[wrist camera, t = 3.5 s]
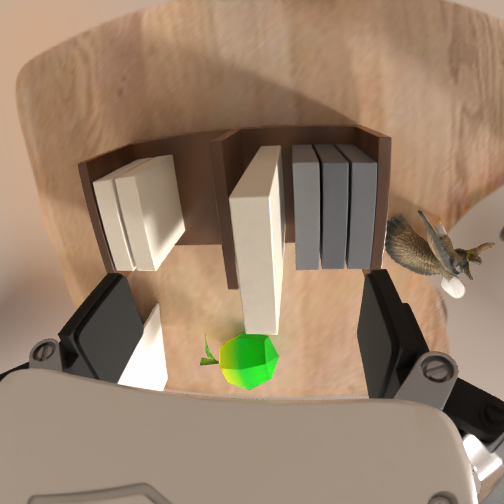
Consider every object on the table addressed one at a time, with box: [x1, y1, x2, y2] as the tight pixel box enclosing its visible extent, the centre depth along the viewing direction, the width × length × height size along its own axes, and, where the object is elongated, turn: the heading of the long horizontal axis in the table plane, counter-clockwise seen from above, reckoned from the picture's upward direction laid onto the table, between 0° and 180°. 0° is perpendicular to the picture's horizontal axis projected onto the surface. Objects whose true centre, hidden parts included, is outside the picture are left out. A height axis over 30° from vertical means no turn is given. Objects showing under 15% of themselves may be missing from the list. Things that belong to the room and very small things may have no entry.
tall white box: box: [118, 303, 168, 391], centre depth 24 cm, size 14×6×30 cm, turn 174°
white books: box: [93, 155, 185, 271], centre depth 23 cm, size 4×7×7 cm, turn 5°
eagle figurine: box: [385, 210, 495, 298], centre depth 23 cm, size 8×7×9 cm
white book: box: [229, 145, 285, 334], centre depth 19 cm, size 2×7×13 cm, turn 5°
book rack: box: [78, 125, 391, 289], centre depth 22 cm, size 20×10×8 cm, turn 95°
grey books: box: [292, 144, 377, 270], centre depth 21 cm, size 5×7×7 cm
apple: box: [200, 332, 279, 390], centre depth 32 cm, size 7×6×9 cm
